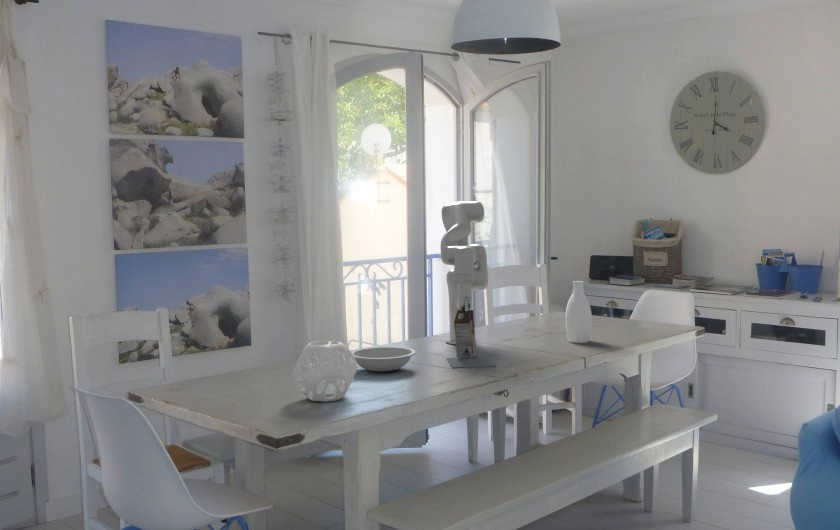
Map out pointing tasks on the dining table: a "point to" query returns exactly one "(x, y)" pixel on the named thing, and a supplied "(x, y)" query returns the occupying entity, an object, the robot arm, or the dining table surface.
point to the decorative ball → (325, 370)
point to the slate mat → (471, 362)
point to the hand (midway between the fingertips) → (465, 325)
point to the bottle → (578, 315)
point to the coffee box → (464, 333)
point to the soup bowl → (383, 358)
